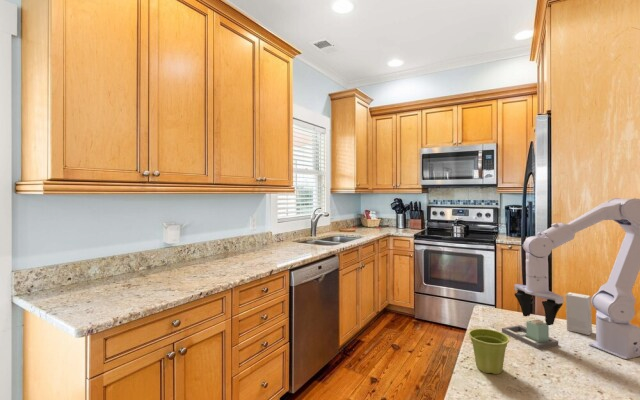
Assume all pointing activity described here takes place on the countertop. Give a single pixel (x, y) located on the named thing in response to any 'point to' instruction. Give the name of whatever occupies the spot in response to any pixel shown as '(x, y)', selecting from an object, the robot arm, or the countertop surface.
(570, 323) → the skincare box
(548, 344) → the dock
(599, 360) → the countertop surface
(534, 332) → the plug
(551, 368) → the countertop surface
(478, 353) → the plant pot
